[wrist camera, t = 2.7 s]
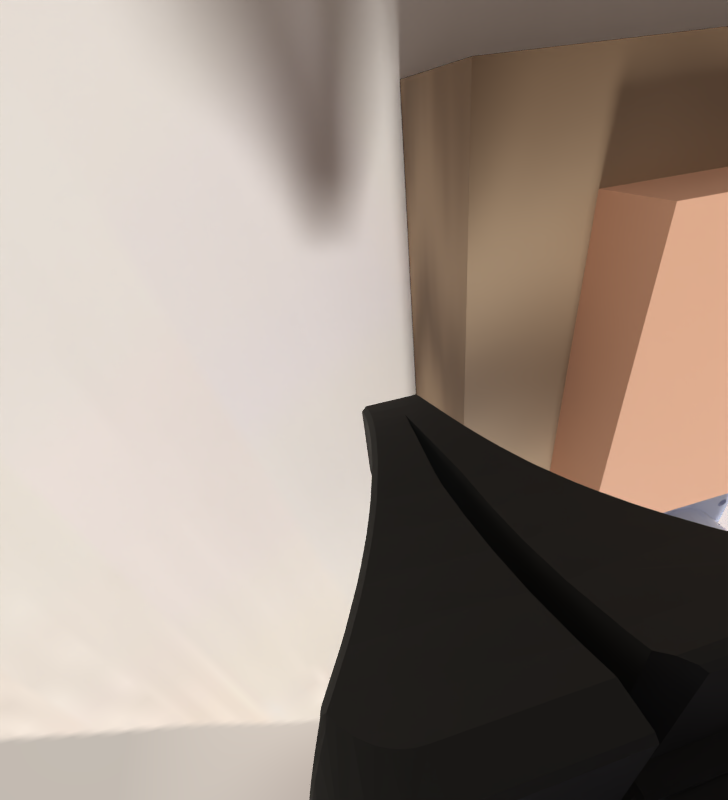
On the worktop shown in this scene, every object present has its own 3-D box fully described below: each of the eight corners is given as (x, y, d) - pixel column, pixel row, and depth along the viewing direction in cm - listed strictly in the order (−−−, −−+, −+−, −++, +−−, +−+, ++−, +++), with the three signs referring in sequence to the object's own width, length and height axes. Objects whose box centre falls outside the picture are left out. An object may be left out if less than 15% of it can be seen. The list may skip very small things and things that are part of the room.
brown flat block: (734, 400, 21) (828, 451, 17) (421, 484, 18) (460, 561, 15) (904, 17, 13) (1130, -22, 10) (400, 79, 11) (471, 56, 7)
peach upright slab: (701, 445, 15) (758, 483, 13) (546, 488, 14) (587, 535, 12) (825, 150, 10) (939, 153, 8) (598, 188, 9) (677, 201, 8)
